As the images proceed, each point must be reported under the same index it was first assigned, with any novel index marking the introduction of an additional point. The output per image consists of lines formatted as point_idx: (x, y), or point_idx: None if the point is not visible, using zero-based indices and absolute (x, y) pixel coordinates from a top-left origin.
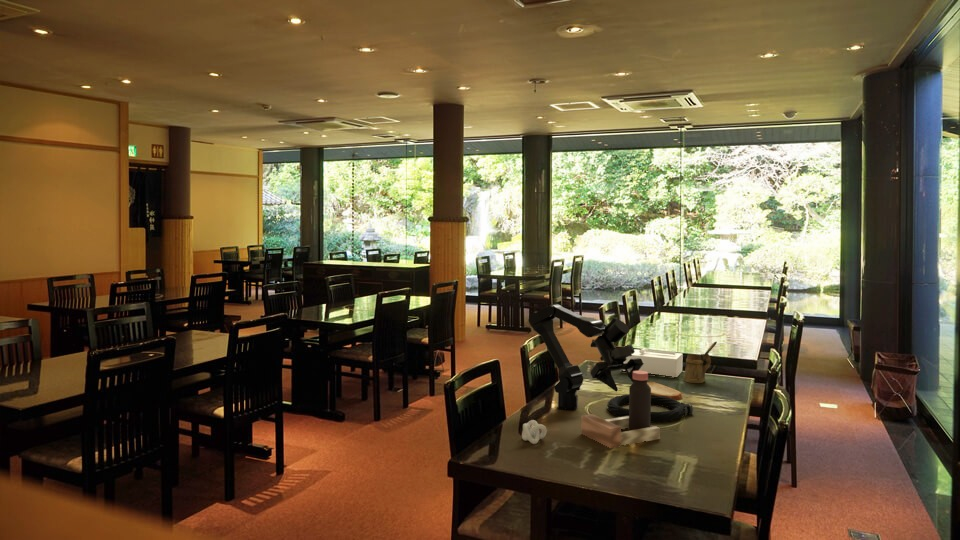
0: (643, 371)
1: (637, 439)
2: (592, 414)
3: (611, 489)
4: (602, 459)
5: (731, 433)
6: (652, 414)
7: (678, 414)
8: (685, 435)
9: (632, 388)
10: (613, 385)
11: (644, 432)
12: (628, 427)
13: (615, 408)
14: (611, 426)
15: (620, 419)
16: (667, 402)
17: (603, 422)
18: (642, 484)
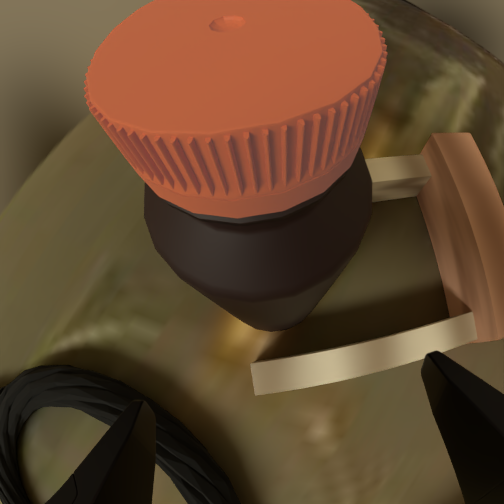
0: (128, 59)
1: None
2: (497, 332)
3: (457, 36)
4: (469, 119)
5: (19, 203)
6: (120, 399)
7: (31, 369)
8: (123, 214)
9: (363, 158)
10: (475, 383)
11: None
12: (286, 356)
13: None
14: (463, 150)
15: (342, 348)
16: (13, 488)
17: (484, 203)
18: (408, 25)
